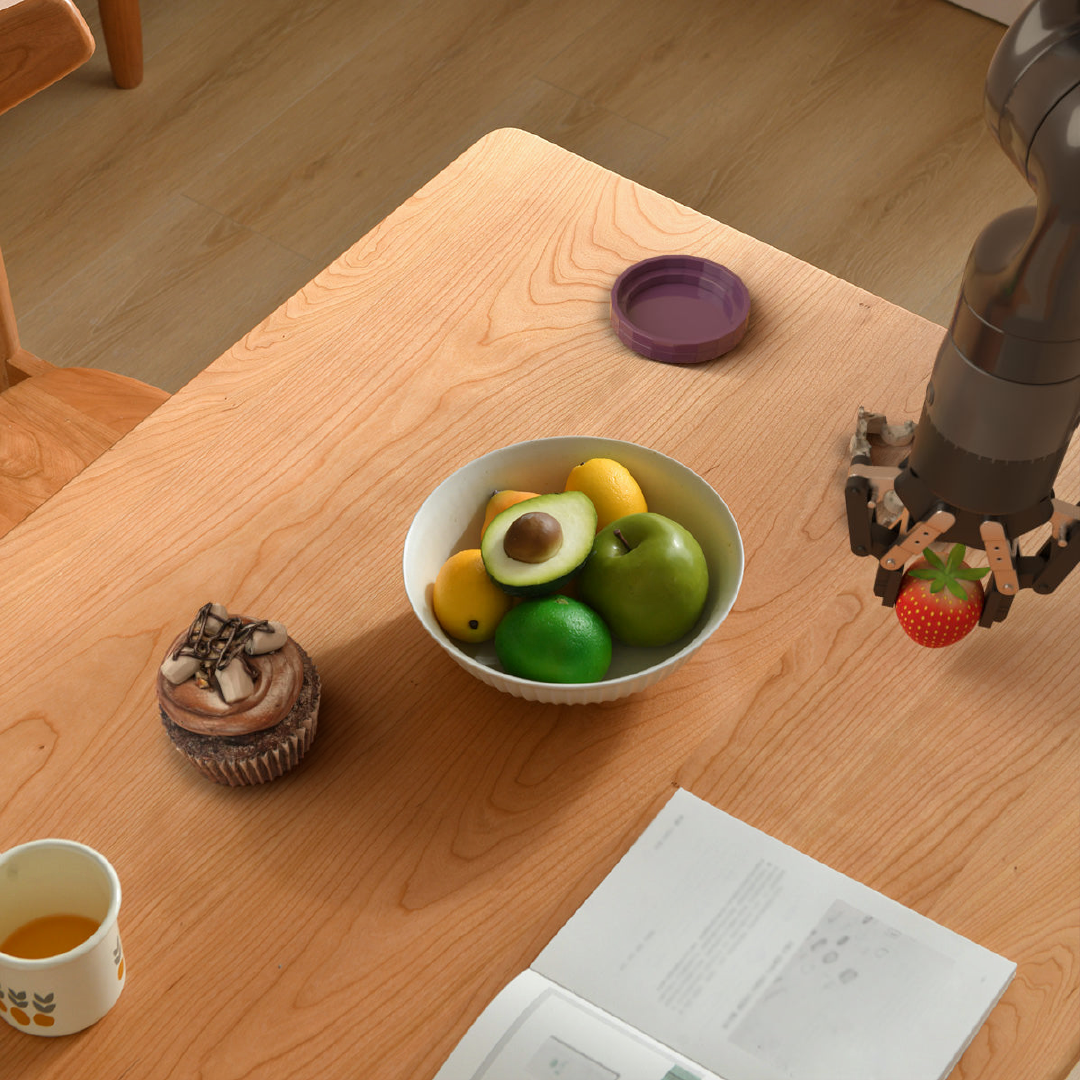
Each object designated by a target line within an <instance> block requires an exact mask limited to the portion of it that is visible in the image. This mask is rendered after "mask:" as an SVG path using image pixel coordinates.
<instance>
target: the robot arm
mask: <svg viewBox="0 0 1080 1080" xmlns="http://www.w3.org/2000/svg"><path fill="white" fill-rule="evenodd" d="M994 51H995V52H994V54H993V56H992V57H991V61H990V63H989V67H988V69H987V72H986V75H985V80H984V82H983V83H984V84H983V89H982V96H981V97H982V98H981V101H982V102H981V108H982V109H981V110H982V114H983V120H984V122H985V125H986V127H987V129H988V132H989V133H990V136H991V137H992V138H993V140H994V141H995V143H996V144H997V146H998V147H999V148H1000V149H1001V150H1002V152H1003V153H1004V154H1005V155H1006V157H1007V158H1008V159H1009V161H1010V162H1011V163H1012V165H1013V166H1014V167H1015V169H1016V170H1017V172H1019V174H1020V175H1021V177H1022V178H1023V179H1024V180H1025V182H1026V183H1027V184H1028V186H1029V187H1030V188H1031V189H1032V191H1033V192H1034V194H1035V196H1036V204H1027V205H1021V206H1017V207H1013V208H1009V209H1008V210H1005V211H1003V212H1001V213H999V214H998V215H996V216H995V217H994V218H992V219H991V220H990V221H988V223H987V224H986V225H985V226H984V227H983V228H982V230H981V231H980V232H979V234H978V235H977V236H976V239H975V241H974V242H973V245H972V247H971V249H970V252H969V255H968V257H967V259H966V263H965V268H964V271H963V274H962V278H961V283H960V287H959V290H958V294H957V298H956V301H955V305H954V308H953V312H952V317H951V320H950V322H949V325H948V328H947V330H946V332H945V334H944V336H943V339H942V340H941V343H940V345H939V346H938V347H939V348H938V349H937V352H936V356H935V359H934V363H933V367H932V370H931V374H930V377H929V381H928V383H927V385H926V389H925V397H924V401H923V403H922V404H923V405H922V409H921V412H920V415H919V420H918V427H917V431H916V434H915V437H913V438H914V439H913V442H912V447H911V450H910V452H909V454H908V455H907V456H906V457H904V458H903V459H902V460H901V461H900V462H899V463H898V465H897V466H883V465H882V466H880V465H879V466H878V465H874V462H873V460H872V459H871V457H870V458H869V457H868V456H865V455H856V456H854V457H853V458H852V457H851V459H852V460H851V459H850V465H849V469H848V473H847V477H846V483H845V487H844V498H845V499H844V500H845V507H846V509H845V510H846V518H847V527H848V535H849V543H850V551H851V553H852V554H853V555H855V556H857V557H859V558H860V557H861V558H865V557H869V556H872V557H874V558H875V559H876V560H877V561H878V565H877V569H876V573H875V578H874V583H873V587H872V590H873V595H874V596H875V597H878V598H882V600H881V601H882V602H881V606H883V607H885V608H892V609H894V608H895V600H896V596H897V593H898V589H899V586H900V582H901V579H902V576H903V574H904V572H905V565H906V562H908V561H909V559H910V558H911V557H913V556H914V555H915V556H919V555H920V554H922V553H923V550H924V549H925V548H926V547H928V546H930V544H932V543H933V542H932V541H933V540H935V541H934V542H939V543H948V544H957V543H960V544H963V545H965V546H966V547H968V548H970V549H974V550H978V551H984V552H986V557H987V561H988V565H989V567H990V569H991V570H990V571H991V573H990V575H989V578H988V581H987V584H986V587H985V589H984V595H985V600H984V608H983V611H982V613H981V616H980V619H979V620H978V622H977V627H979V628H983V629H989V630H990V629H991V628H992V626H993V624H994V622H995V623H1000V624H1001V623H1002V622H1003V621H1005V620H1006V619H1007V617H1008V615H1009V612H1010V610H1011V608H1012V605H1013V602H1014V599H1015V597H1016V595H1017V594H1018V593H1019V591H1022V590H1025V589H1032V590H1033V592H1034V593H1036V594H1038V595H1042V596H1047V595H1051V594H1053V593H1054V592H1055V591H1056V589H1057V588H1058V587H1059V586H1060V585H1061V584H1062V583H1063V582H1064V580H1065V579H1066V578H1067V577H1069V575H1070V574H1071V572H1072V571H1073V570H1074V569H1075V568H1076V567H1077V566H1078V564H1079V563H1080V500H1079V501H1077V503H1075V504H1073V503H1070V502H1067V501H1064V500H1061V499H1059V498H1056V492H1055V490H1054V485H1055V482H1056V480H1057V477H1058V474H1059V472H1060V470H1061V466H1062V464H1063V462H1064V459H1065V457H1066V454H1067V451H1068V449H1069V446H1070V444H1071V441H1072V439H1073V437H1074V433H1075V431H1076V430H1077V429H1078V428H1079V426H1080V0H1031V1H1030V2H1028V4H1027V5H1026V6H1025V7H1024V8H1023V9H1022V10H1021V12H1020V13H1019V14H1018V15H1017V16H1016V18H1015V19H1014V20H1013V21H1012V23H1011V24H1010V25H1009V27H1008V28H1007V29H1006V32H1005V33H1004V34H1003V37H1002V38H1001V40H1000V42H999V43H998V45H997V47H996V49H995V50H994ZM890 490H895V493H896V494H897V496H898V497H899V499H900V500H901V502H902V503H903V505H904V506H905V508H904V510H903V512H902V514H901V515H900V516H899V517H898V518H897V519H896V520H895V521H894V522H893V523H892V524H891V525H890V526H889V527H888V528H887V527H885V526H883V525H882V524H881V523H879V517H878V507H877V506H878V505H877V504H879V503H881V502H883V499H884V495H885V493H886V492H888V491H890ZM1048 522H1049V523H1050V524H1051V525H1052V526H1051V534H1050V535H1049V536H1048V538H1047V539H1046V540H1045V542H1044V543H1043V544H1042V545H1041V546H1040V547H1039V549H1038V550H1037V551H1036V552H1035V555H1023V553H1022V548H1021V543H1020V537H1022V536H1023V535H1026V534H1028V533H1029V532H1032V531H1033V530H1035V529H1037V528H1039V527H1041V526H1044V525H1046V524H1047V523H1048Z"/></svg>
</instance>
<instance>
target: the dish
mask: <svg viewBox="0 0 1080 1080" xmlns="http://www.w3.org/2000/svg"><path fill="white" fill-rule="evenodd" d="M751 305H752V302H751V297H750V291H749V288H748V287H747V286H746V284H745V283H744V282H743V280H742V279H741V278H740V276H739V275H737V274H736V273H734V272H733V271H732V270H731V269H730V268H728V267H727V266H725V265H723V264H721V263H719V262H716V261H713V260H712V259H708V258H705V257H700V256H694V255H689V254H662V255H657V256H653V257H648V258H645V259H642V260H641V261H638V262H636V263H634V264H632V265H630V266H628V267H627V268H626V269H625V270H624V271H622V272H621V274H620V275H619V276H617V277H616V279H615V281H614V283H613V285H612V288H611V290H610V297H609V319H610V325H611V327H612V329H613V331H614V333H615V334H616V336H617V339H619V340H620V341H621V342H622V343H623V344H624V345H626V347H628V348H629V349H630V350H632V351H634V352H635V353H637V354H640V355H641V356H644V357H646V358H649V359H651V360H656V361H660V362H664V363H670V364H695V363H696V364H697V363H702V362H705V361H710V360H713V359H716V358H719V357H720V356H722V355H724V354H726V353H728V352H730V351H732V350H733V349H735V347H736V346H737V345H738V344H739V342H741V341H742V340H743V338H744V337H745V335H746V331H747V328H748V324H749V319H750V314H751V313H750V312H751V307H752V306H751Z"/></svg>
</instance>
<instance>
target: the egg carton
mask: <svg viewBox="0 0 1080 1080" xmlns="http://www.w3.org/2000/svg"><path fill="white" fill-rule="evenodd" d="M887 420H888V419H887V416H886V415H884V414H883V413H878V412H868V411H866V410H865V406H863V405H861V406H859V407H858V409H857V419H856V428H855V433H854V434H853V435H852V436H851V438H850V441H849V452H850V453H851V459H850V461H851V460H852V458H853V457H854V456H856V455H865V456H868V457H869V458H870V459H871V450H872V449H873V446H872V445H870V443H869V440H867V434H877V435H879V436H880V438H881V439H882V441H883V442H884V443H886V444H888V445H890V446H891V447H904V446H907V445H909V444H910V443H911V441H912V440H913V438H915V434H916V431H917V427H918V424H917V423H915V422H914V421H913V420H908V419H907V420H906V421H905V422H903V423H904V424H903V425H897V424H888V421H887ZM882 502H883V506H884V507H885V509H886V510H887V511H888V512H890V513H892V514H893V515H892V516H891V517H890V518H889V517H888V516H887V517H885V518H884V519H883V521H882V524H881V525H883V526H885V527H887V528H888V527H889V526H890V525H891V524H892V523H893V522H894V521H895V520H896V519H897V518H898V517H899V516H900V515H901V514H902V512H903V510H904V508H905V506H904V505H903V503H902V502H901V500H900V499H899V497H898V496H897V494H896V493H895V490H890V491H888V492H886V493H885V495H884V499H883V500H882ZM934 542H936V541H935V540H933V541H932V542H931V543H934Z"/></svg>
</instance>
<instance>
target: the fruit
mask: <svg viewBox="0 0 1080 1080" xmlns="http://www.w3.org/2000/svg"><path fill="white" fill-rule="evenodd" d="M966 551H967V546H965V545H963V544H960V543H955V545H954V546H953V547H952V549H951V550H950V552H943V551H941V552H940V551H937V552H934V551H933V550H932V549H930V548H929V547H928V546H927V547H926V548H925V549H924V550H923V551H922V554H923V555H922V556H920V557H918V558H917V559H916V560H915V561H914V562H912V563H911V564H910V565H909V566H908V567H907V568H906V569H905V570H904V572H903V575H902V579H901V582H900V586H899V589H898V593H897V596H896V600H895V603H894V609H895V615H896V617H897V619H898V622H899V624H900V626H901V628H902V630H903V631H904V632H905V634H906V635H907V636H908V637H909V638H910V639H911V640H912V641H913V642H915V643H916V644H917V645H919V646H922V647H925V648H929V649H942V648H945V647H949V646H951V645H953V644H956V643H957V642H959V641H961V640H963V639H965V637H966V636H967V635H968V634H970V633H971V632H972V631H973V629H974V628H975V627H976V625H978V621H979V619H980V616H981V613H982V611H983V608H984V600H985V595H984V592H985V589H984V586H983V585H984V584H983V583H982V581H981V579H983V578H985V577H986V576H987V575H988V573H990V571H991V569H990V566H986V567H971V566H970V565H969V564H968V562H966V561H965V560H964V559H965V556H966Z"/></svg>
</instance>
